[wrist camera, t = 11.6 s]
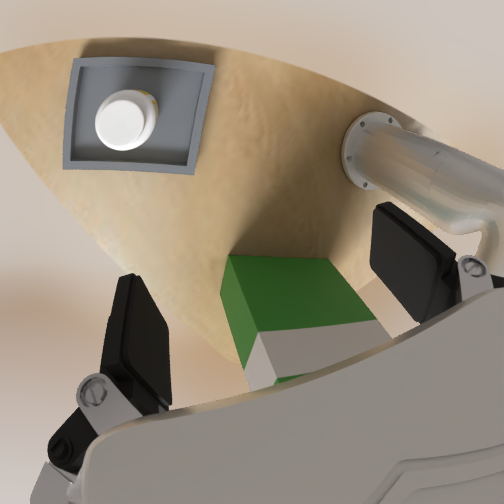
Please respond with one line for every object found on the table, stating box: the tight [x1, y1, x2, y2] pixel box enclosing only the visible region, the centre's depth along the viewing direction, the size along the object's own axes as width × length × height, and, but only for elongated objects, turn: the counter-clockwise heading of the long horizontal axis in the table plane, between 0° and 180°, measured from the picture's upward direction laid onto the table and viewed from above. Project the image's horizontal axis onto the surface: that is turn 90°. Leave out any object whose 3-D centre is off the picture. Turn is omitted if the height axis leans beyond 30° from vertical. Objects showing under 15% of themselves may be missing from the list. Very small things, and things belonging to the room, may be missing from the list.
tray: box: [63, 57, 216, 175], centre depth 26 cm, size 16×13×2 cm
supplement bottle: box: [95, 90, 159, 150], centre depth 22 cm, size 6×6×10 cm
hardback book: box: [220, 255, 392, 392], centre depth 36 cm, size 18×7×24 cm, turn 75°
